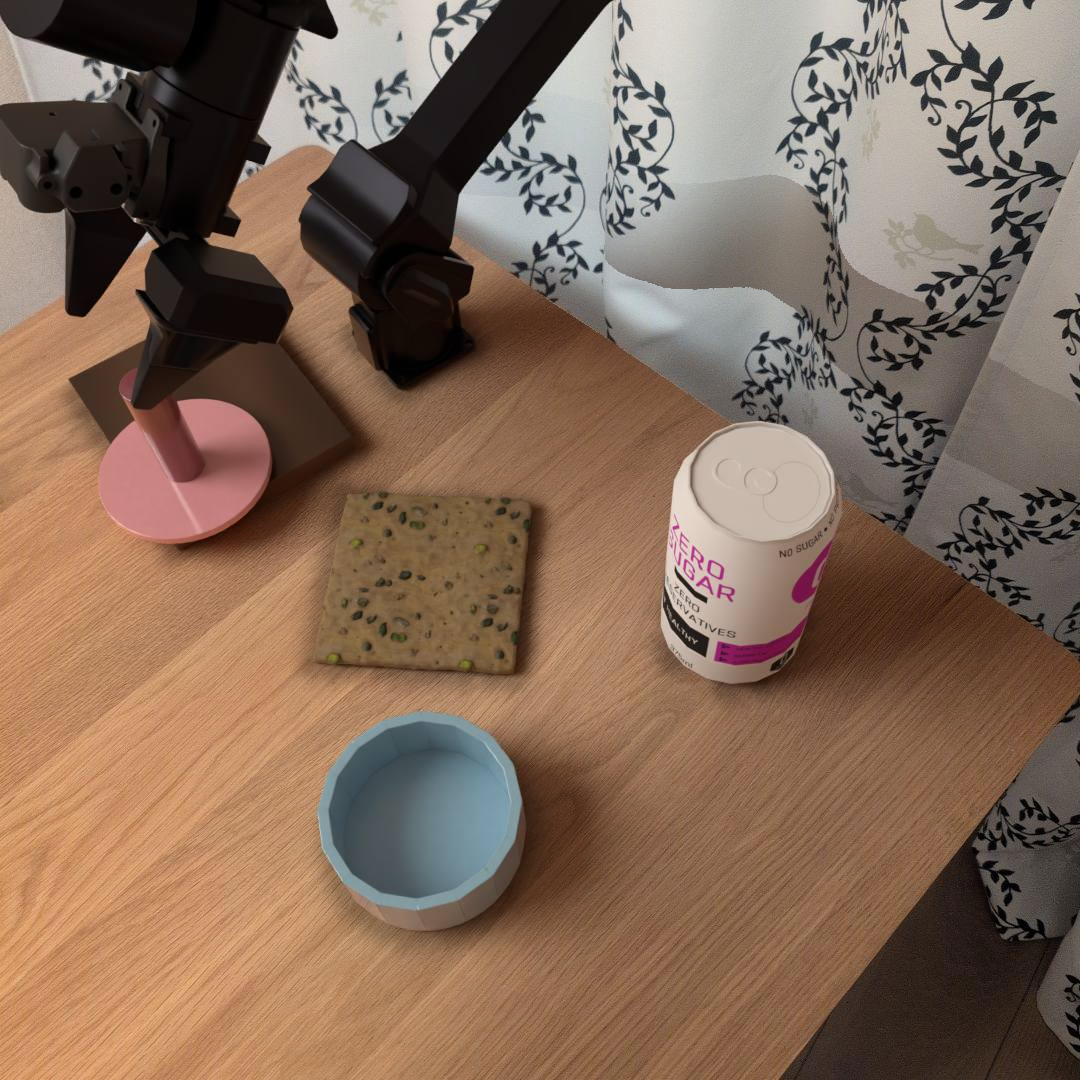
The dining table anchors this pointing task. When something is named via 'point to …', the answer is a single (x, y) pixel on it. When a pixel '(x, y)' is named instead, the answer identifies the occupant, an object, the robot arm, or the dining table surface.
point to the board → (249, 383)
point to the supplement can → (746, 549)
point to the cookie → (426, 583)
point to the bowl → (423, 820)
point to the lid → (183, 468)
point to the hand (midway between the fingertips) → (106, 359)
